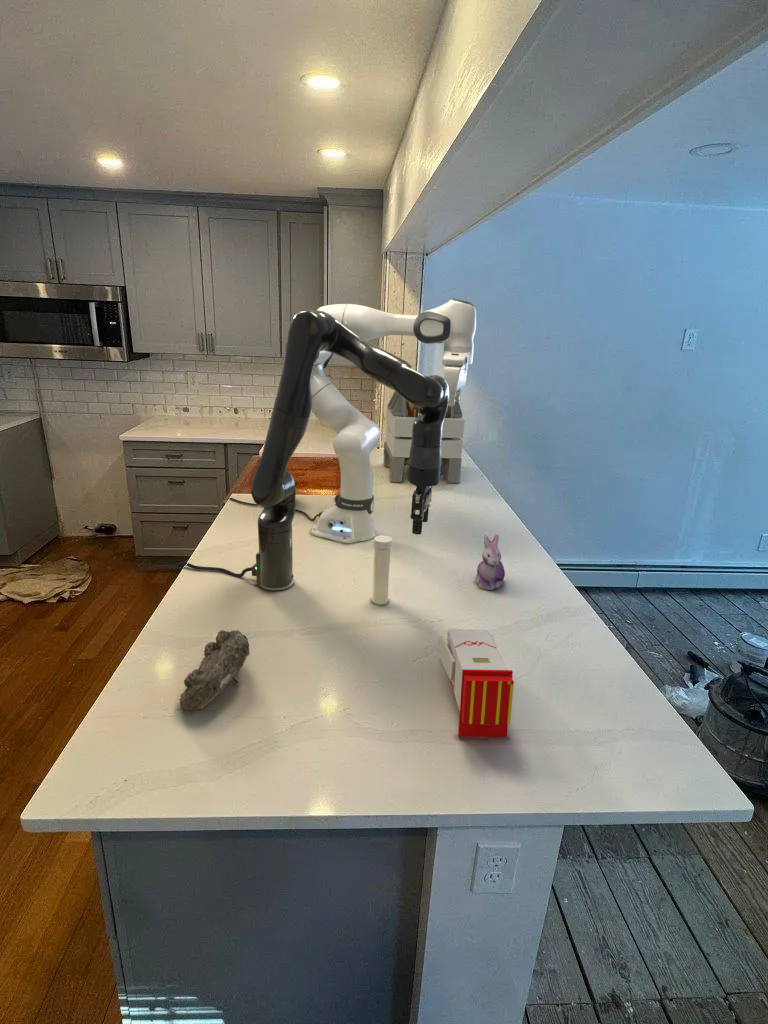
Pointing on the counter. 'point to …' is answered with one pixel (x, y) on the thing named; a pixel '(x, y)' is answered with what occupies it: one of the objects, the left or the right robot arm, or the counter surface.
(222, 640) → the fossil
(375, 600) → the cream cylinder
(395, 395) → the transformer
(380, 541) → the lid
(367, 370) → the left robot arm
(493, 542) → the figurine
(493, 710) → the toy
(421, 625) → the counter surface
